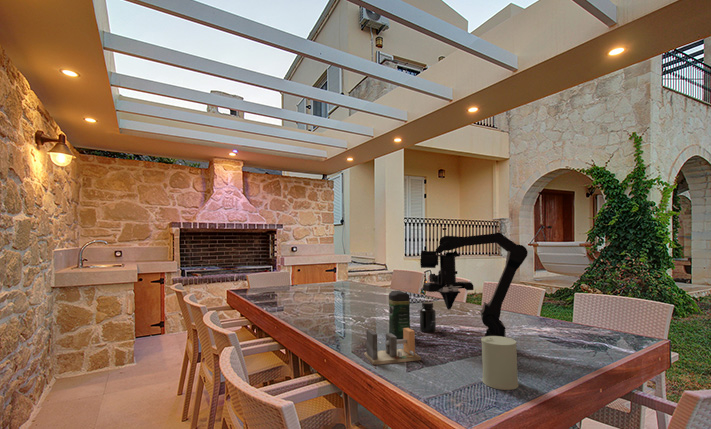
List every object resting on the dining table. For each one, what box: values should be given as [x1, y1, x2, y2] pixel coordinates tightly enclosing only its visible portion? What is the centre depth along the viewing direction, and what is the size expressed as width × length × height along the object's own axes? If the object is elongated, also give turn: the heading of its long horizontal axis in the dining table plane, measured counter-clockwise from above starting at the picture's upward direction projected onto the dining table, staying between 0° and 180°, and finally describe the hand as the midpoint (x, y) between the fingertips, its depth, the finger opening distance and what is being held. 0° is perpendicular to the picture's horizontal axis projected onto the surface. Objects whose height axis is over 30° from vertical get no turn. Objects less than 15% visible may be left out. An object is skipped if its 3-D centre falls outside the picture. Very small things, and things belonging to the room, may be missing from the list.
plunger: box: [385, 327, 416, 355], centre depth 118 cm, size 9×8×8 cm
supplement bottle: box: [419, 301, 437, 333], centre depth 155 cm, size 7×7×12 cm
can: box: [480, 336, 520, 391], centre depth 97 cm, size 9×9×12 cm
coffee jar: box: [388, 290, 411, 340], centre depth 146 cm, size 10×8×19 cm
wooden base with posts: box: [363, 328, 422, 366], centre depth 119 cm, size 16×10×9 cm, turn 105°
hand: (448, 309), depth 135 cm, fingers closed
